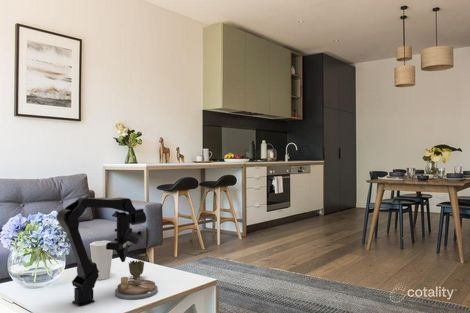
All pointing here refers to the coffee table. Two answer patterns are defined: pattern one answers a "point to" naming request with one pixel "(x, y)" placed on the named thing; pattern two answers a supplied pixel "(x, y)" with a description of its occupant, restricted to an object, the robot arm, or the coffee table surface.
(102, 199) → the robot arm
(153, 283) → the handwheel
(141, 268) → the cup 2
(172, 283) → the coffee table surface
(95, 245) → the cup
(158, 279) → the coffee table surface
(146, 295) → the wheel base
